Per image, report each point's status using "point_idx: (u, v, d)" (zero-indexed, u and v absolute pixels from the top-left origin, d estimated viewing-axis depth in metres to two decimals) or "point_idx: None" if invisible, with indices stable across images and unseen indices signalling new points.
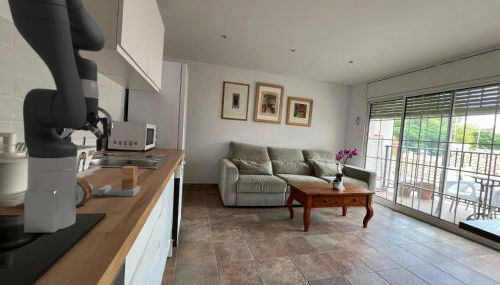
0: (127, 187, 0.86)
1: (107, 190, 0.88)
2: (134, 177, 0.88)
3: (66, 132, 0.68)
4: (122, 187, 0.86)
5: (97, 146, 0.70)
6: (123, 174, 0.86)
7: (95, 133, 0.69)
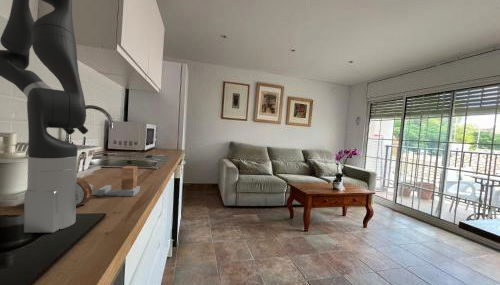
0: (127, 187, 0.86)
1: (107, 190, 0.88)
2: (134, 177, 0.88)
3: None
4: (122, 187, 0.86)
5: (85, 127, 0.89)
6: (123, 174, 0.86)
7: None
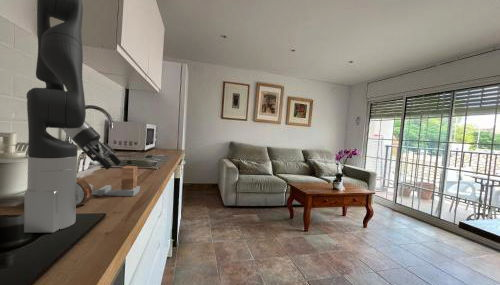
0: (127, 187, 0.86)
1: (107, 190, 0.88)
2: (134, 177, 0.88)
3: (101, 154, 0.83)
4: (122, 187, 0.86)
5: (118, 159, 0.91)
6: (123, 174, 0.86)
7: (111, 151, 0.90)
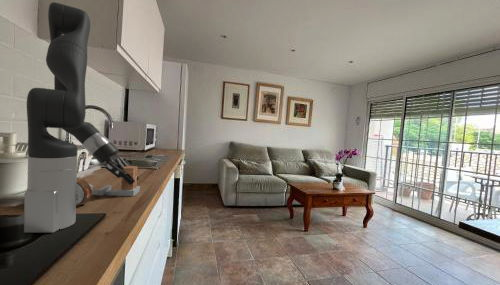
0: (127, 187, 0.86)
1: (107, 190, 0.88)
2: (134, 177, 0.88)
3: None
4: (122, 187, 0.86)
5: None
6: None
7: None
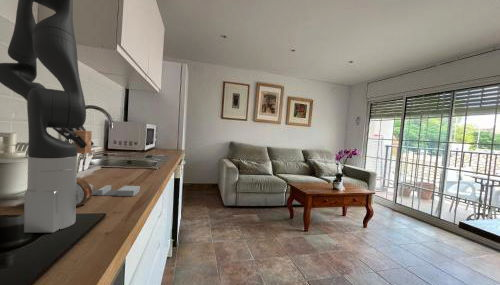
0: (79, 151, 0.83)
1: (107, 190, 0.88)
2: (87, 141, 0.85)
3: (75, 132, 0.82)
4: None
5: None
6: None
7: None
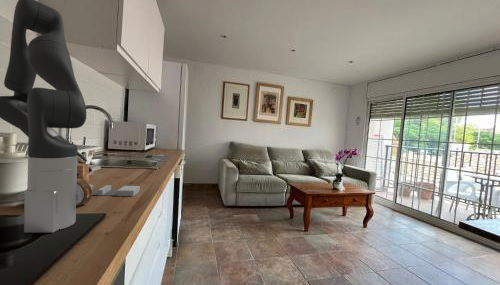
0: None
1: (107, 190, 0.88)
2: (84, 174, 0.85)
3: None
4: None
5: (89, 167, 0.90)
6: None
7: (81, 159, 0.89)
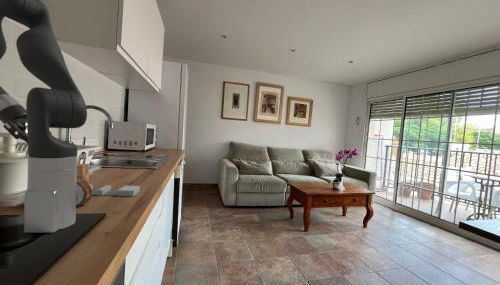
0: None
1: (107, 190, 0.88)
2: (84, 174, 0.85)
3: (27, 132, 0.79)
4: None
5: None
6: None
7: None
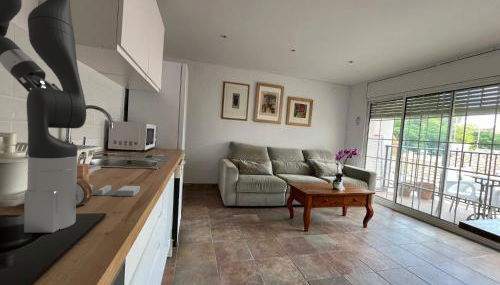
0: None
1: (107, 190, 0.88)
2: (84, 174, 0.85)
3: None
4: None
5: None
6: None
7: None
